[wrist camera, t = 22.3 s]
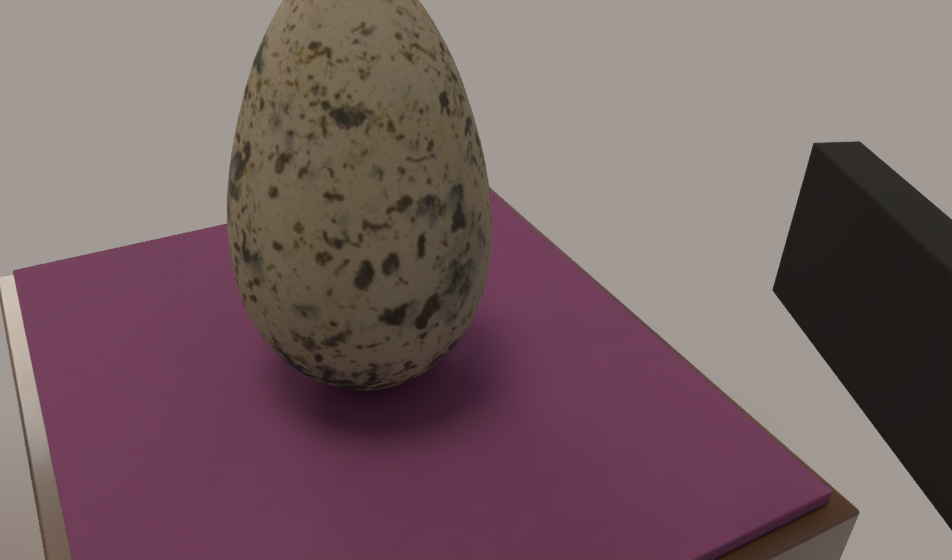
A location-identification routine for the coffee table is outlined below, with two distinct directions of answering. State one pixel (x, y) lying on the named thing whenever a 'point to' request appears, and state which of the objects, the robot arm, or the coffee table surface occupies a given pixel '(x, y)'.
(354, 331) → the decorative egg
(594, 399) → the cloth
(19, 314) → the plinth
